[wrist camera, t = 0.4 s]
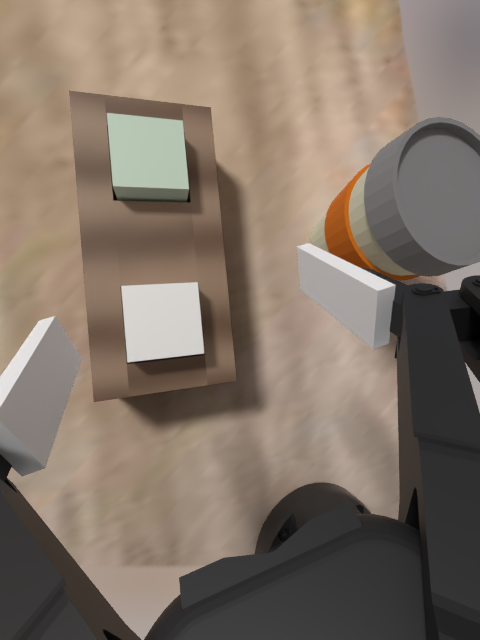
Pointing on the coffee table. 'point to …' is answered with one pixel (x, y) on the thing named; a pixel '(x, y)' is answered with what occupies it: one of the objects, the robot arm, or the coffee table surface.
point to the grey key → (162, 321)
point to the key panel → (149, 250)
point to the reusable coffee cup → (411, 205)
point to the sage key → (148, 158)
